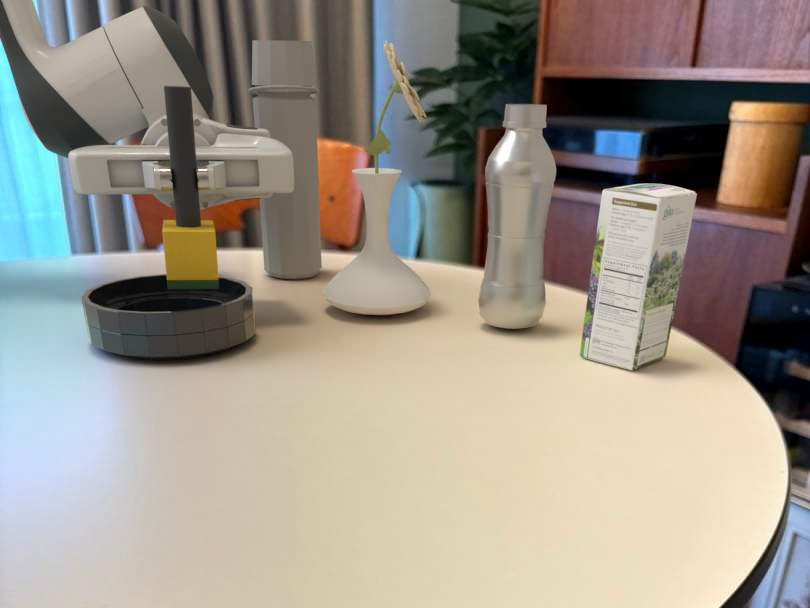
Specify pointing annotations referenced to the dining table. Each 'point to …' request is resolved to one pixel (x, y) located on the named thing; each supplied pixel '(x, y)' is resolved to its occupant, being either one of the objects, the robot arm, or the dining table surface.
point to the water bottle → (296, 128)
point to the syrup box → (636, 273)
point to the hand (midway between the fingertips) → (185, 179)
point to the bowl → (167, 317)
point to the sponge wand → (186, 204)
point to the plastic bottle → (517, 220)
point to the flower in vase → (380, 231)
